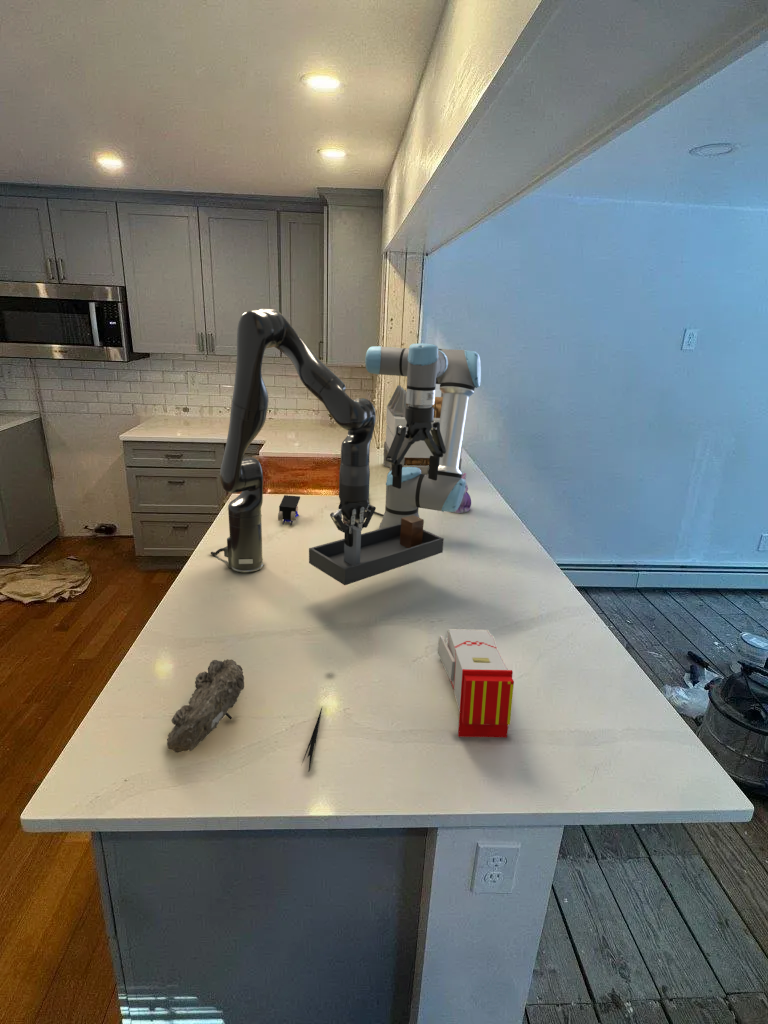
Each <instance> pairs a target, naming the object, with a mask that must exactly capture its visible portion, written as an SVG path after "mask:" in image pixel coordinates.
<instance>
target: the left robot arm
mask: <svg viewBox="0 0 768 1024" xmlns="http://www.w3.org/2000/svg"><path fill="white" fill-rule="evenodd" d="M236 331H237V332H236V364H235V373H234V374H235V375H234V385H233V393H232V398H231V406H230V414H229V423H228V424H229V425H228V430H227V431H228V432H227V438H226V443H225V446H224V451H223V456H222V458H221V459H222V460H221V464H220V469H219V470H220V471H219V479H220V484H221V487H222V489H223V490H224V491H225V492H226V493H229V494H235V493H240V494H239V495H238V496H236V497H235V498H233V499H232V500H231V501H230V502H229V503H228V506H227V511H228V513H227V514H228V531H229V536H228V537H227V538H226V546H225V547H222V548H221V547H220V548H218V549H217V550H216V551H215V552H214V551H210V555H211V556H217V555H219V554H220V553H221V552H223V557H225V558H227V566H228V569H231V570H232V571H234V572H237V573H241V574H243V573H254V572H256V571H260V570H261V569H262V568H263V567H264V558H263V527H262V505H263V501H264V472H263V467H262V464H261V463H260V460H258V459H257V458H256V457H253V456H247V457H244V456H245V454H246V451H247V449H248V448H249V446H250V445H251V443H252V442H253V441H254V440H255V439H256V437H257V436H258V435H259V433H260V432H261V430H262V429H263V427H264V426H265V423H266V420H267V414H268V409H269V401H270V400H269V393H268V389H267V387H266V384H265V381H264V378H263V375H262V367H263V360H264V355H265V351H266V349H270V348H271V349H272V348H276V349H277V350H278V351H280V353H282V354H284V355H285V356H286V357H287V358H288V359H289V360H290V361H291V363H292V365H293V366H294V369H295V371H296V373H297V375H298V378H299V380H300V381H301V383H302V384H303V386H304V387H305V388H306V389H307V390H308V391H309V392H310V393H311V394H313V395H314V397H315V398H317V399H318V400H319V401H320V402H321V403H322V404H323V405H324V407H325V409H326V410H327V412H328V413H329V415H330V416H331V417H332V419H333V420H334V421H335V423H336V424H337V425H338V426H339V427H341V428H342V429H344V430H346V431H347V435H346V437H345V438H344V439H343V440H342V441H341V446H340V465H339V472H338V473H339V476H338V498H339V504H338V507H337V508H338V509H337V510H335V512H333V511H332V512H330V513H329V517H330V519H331V520H332V522H333V523H334V525H335V527H336V528H337V530H338V531H340V532H341V533H344V535H343V536H344V538H343V539H344V542H345V544H346V545H347V546H349V547H352V546H353V525H354V526H356V527H358V528H360V529H361V532H362V530H363V529H364V528H368V526H369V524H370V522H371V520H372V518H373V515H375V513H374V512H376V506H374V505H372V504H370V503H369V504H368V501H367V500H368V498H369V497H370V478H371V473H370V472H371V470H370V454H371V453H370V449H371V447H370V446H371V442H372V439H373V435H374V430H375V426H376V419H377V418H376V409H375V407H374V405H373V403H372V402H371V401H370V400H369V399H368V398H364V397H359V398H355V399H352V398H351V397H350V396H349V395H348V394H347V392H346V389H347V388H346V384H345V383H344V382H343V381H342V380H341V379H340V378H339V376H337V375H336V374H335V373H334V372H333V371H332V370H331V369H330V368H329V367H327V365H326V364H324V363H323V362H322V361H321V360H320V359H319V358H318V357H317V356H316V354H314V352H313V351H312V349H310V347H308V345H307V343H305V341H304V340H303V338H302V337H301V336H300V335H299V334H298V332H297V331H296V330H295V328H294V327H293V326H292V324H290V322H289V321H288V320H287V319H286V317H285V316H284V315H283V314H282V313H281V312H280V311H279V310H277V309H275V308H272V307H266V308H265V307H264V308H257V309H251V310H247V311H245V312H244V313H242V315H241V316H240V318H239V320H238V323H237V330H236ZM369 499H370V498H369Z"/></svg>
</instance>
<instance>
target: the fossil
mask: <svg viewBox="0 0 768 1024" xmlns="http://www.w3.org/2000/svg"><path fill="white" fill-rule="evenodd" d="M243 670H244V669H243V667H242V665H240V664H237V662H236V661H235V660H234V659H232V658H231V659H227V658H226V659H224V660H223V661H222V660H217V659H212V660H211V661H210V663H209V665H208V666H207V671H201V672H199V673H198V674H197V675H196V676H195V680H194V684H195V685H194V687H195V689H194V690H193V693H192V694H191V697H190V698H189V700H188V704H184V705H182V706H181V707H180V709H177V710H176V711H175V713H174V715H173V716H172V718H171V723H172V724H173V727H172V730H171V731H170V732H168V734H167V738H166V741H167V742H166V745H167V749H168V750H169V751H173V752H174V753H176V754H178V753H182V752H188V751H189V752H192V751H193V750H195V748H196V747H197V746H199V744H200V743H201V742H203V741H204V740H205V739H206V738H207V737H208V736H209V735H210V734H211V733H212V732H214V730H215V729H217V727H218V726H219V724H220V722H221V721H222V720H223V719H224V718H225V716H226V717H227V719H229V720H233V717H232V715H230V714H229V710H230V709H231V708H234V706H235V704H236V703H237V702H238V699H239V697H240V695H241V693H242V691H243V690H245V689H244V688H245V675H244V671H243Z"/></svg>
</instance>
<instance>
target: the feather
mask: <svg viewBox="0 0 768 1024" xmlns="http://www.w3.org/2000/svg"><path fill="white" fill-rule="evenodd" d="M329 675H330V676H331V675H332V674H331V673H330V674H329ZM322 710H323V707H321V708H320V710H319V713H318V716H317V719H316V723H315V725H314V728H313V731H312V733H311V737H310V739H309V742H308V745H307V748H306V751H305V754H304V757H303V760H302V763H301V767H302V765H303V763H304V761H305V758H308V759H309V760H308V762H307V763H308V764H307V766H308V771H310V770H311V766H312V765H311V764H312V760H313V757H315V756H314V755H315V751H316V749H315V746H317V739H318V733H319V729H320V722H321V717H322V712H323V711H322ZM313 754H314V755H313ZM306 755H307V757H306Z"/></svg>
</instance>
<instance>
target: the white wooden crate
mask: <svg viewBox="0 0 768 1024" xmlns="http://www.w3.org/2000/svg"><path fill="white" fill-rule="evenodd" d="M406 390H407V389H404V388H403V387H402V385H399V384H398V385H397V386H396V388H395V390H394V392H393V394H392V395H391V398H390V400H389V402H388V404H387V405H386V413H385V414H386V415H385V423H386V428H385V438H384V442H383V466H384V467H388V468H389V472H390V471H391V470H392V464H391V463H390V462H387V461H386V457H387V454H388V452H389V449H390V447H391V444H392V442H393V439H394V437H395V435H396V428H397V426H398V425H399V426H406V424H407V421H406V419H405V408H406V406H407V405H408V404H406ZM440 393H441V394H440V396H435V402H434V405H432V406H433V408H434V418H433V421H436V422H439V421H440V414H441V407H442V400H443V393H442V392H441V391H440ZM430 434H431V435H432V433H431V430H430ZM408 439H410V438H408ZM432 439H433V438H432ZM463 442H464V440H462V444H463ZM462 453H463V446H462V447H461V454H460V461H459V470H460V471H461V472H462V461H463V460H462ZM430 456H433V455H432V453H431V451H430V450H429V448H428V446H427V445H426V443H425V442H424V441H421V440H420V441H418V442H415V443H414V444H412V445H411V447H410V448H409V450H408V451H407V453H406V455H405V456H404V458H403V459H402V461H401V463H400V464H402V467H405V466H406V467H417V466H418V467H429V461H430ZM396 460H397V459H396Z"/></svg>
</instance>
